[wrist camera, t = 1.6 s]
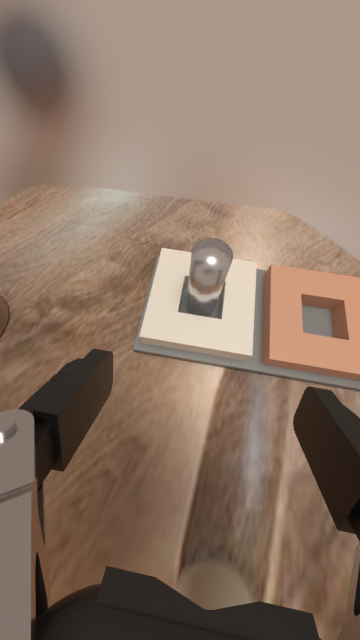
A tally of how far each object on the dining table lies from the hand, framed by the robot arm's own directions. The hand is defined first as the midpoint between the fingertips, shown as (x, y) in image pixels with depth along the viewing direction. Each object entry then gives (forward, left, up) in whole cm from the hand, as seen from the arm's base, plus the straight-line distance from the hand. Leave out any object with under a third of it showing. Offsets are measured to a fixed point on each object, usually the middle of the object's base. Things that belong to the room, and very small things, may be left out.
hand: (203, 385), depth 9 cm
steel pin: (0, +12, -16) cm, 20 cm away
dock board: (+7, +12, -17) cm, 22 cm away
